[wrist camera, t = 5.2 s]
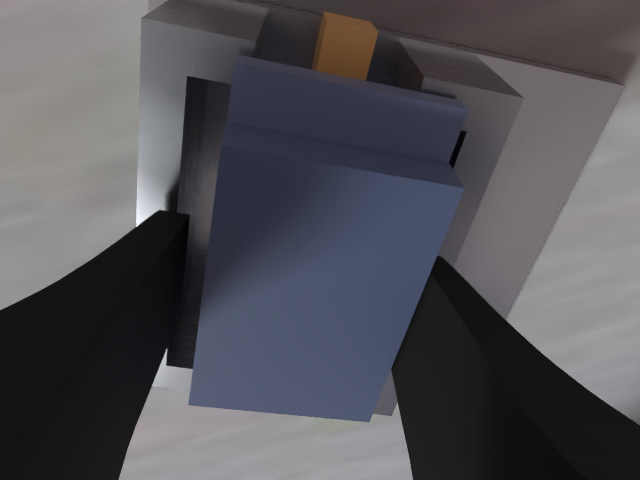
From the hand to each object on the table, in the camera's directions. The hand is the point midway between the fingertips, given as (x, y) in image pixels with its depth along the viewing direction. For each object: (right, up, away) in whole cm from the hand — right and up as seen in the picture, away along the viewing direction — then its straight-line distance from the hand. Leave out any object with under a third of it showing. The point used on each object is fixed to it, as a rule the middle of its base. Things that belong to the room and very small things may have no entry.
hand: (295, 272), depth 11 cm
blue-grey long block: (0, +2, +3) cm, 3 cm away
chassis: (+1, +1, +4) cm, 4 cm away
